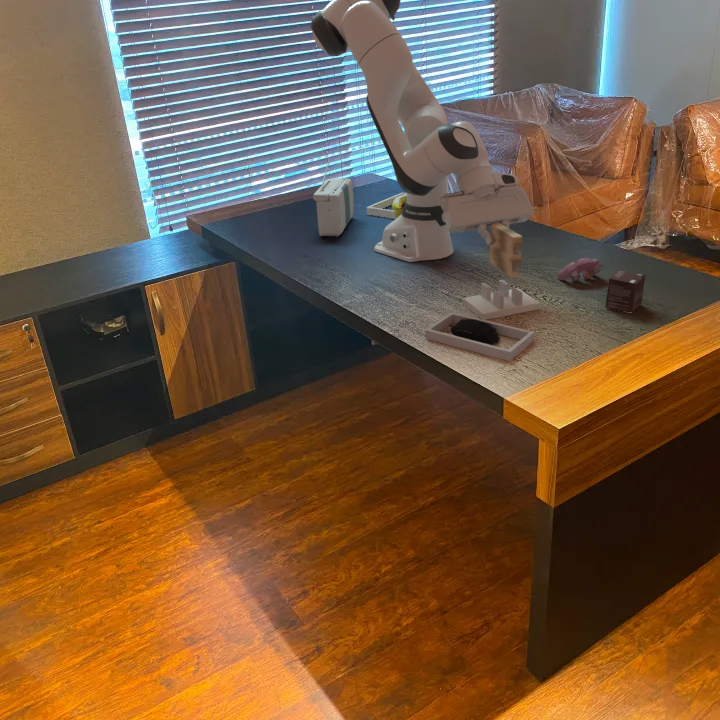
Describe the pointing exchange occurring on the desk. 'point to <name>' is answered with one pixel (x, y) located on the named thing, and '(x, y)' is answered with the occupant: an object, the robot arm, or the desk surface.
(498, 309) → the white slotted stand
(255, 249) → the desk surface
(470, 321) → the gaming mouse
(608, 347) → the desk surface
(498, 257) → the tan upright panel
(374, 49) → the robot arm
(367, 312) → the desk surface
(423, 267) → the desk surface
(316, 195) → the stereo radio cassette player
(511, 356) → the mouse tray
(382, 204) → the white rectangular tray
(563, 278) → the video game controller
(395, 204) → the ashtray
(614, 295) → the box
